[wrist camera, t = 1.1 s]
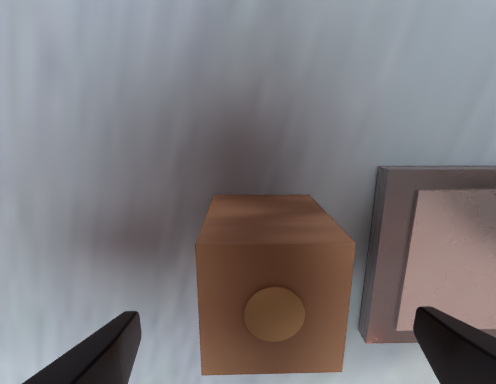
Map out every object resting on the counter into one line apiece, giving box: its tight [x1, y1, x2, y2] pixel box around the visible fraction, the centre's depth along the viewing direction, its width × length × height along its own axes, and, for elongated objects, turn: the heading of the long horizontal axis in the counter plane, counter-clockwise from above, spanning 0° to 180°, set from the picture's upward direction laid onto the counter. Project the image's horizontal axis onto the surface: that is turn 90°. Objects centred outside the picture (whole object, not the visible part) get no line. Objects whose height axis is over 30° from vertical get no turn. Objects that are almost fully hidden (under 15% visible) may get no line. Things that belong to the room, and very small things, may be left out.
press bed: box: [359, 166, 496, 344], centre depth 15 cm, size 9×10×1 cm
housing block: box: [195, 195, 356, 375], centre depth 12 cm, size 5×5×6 cm
